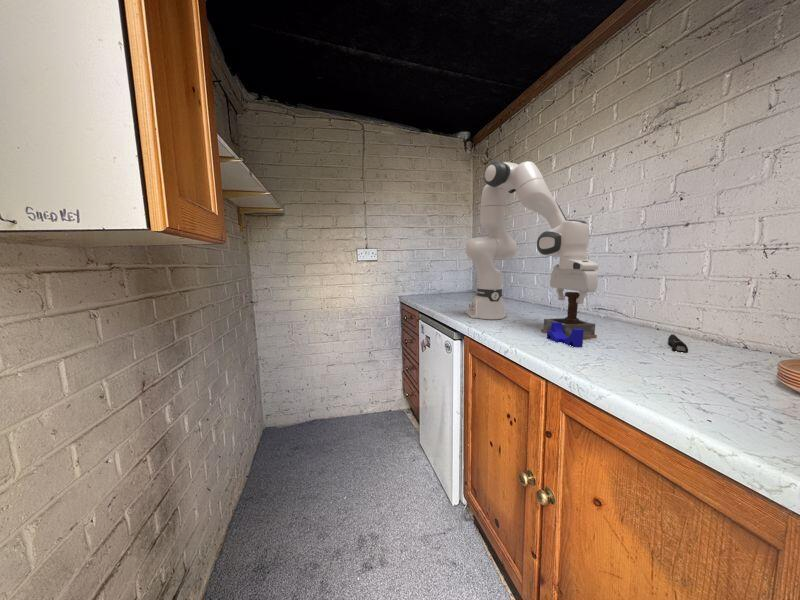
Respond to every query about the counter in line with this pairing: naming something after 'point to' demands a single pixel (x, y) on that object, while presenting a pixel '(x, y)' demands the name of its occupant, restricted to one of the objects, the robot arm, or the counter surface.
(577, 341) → the cable clip
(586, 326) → the bolt stand
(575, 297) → the bolt
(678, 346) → the electric trimmer
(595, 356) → the counter surface
